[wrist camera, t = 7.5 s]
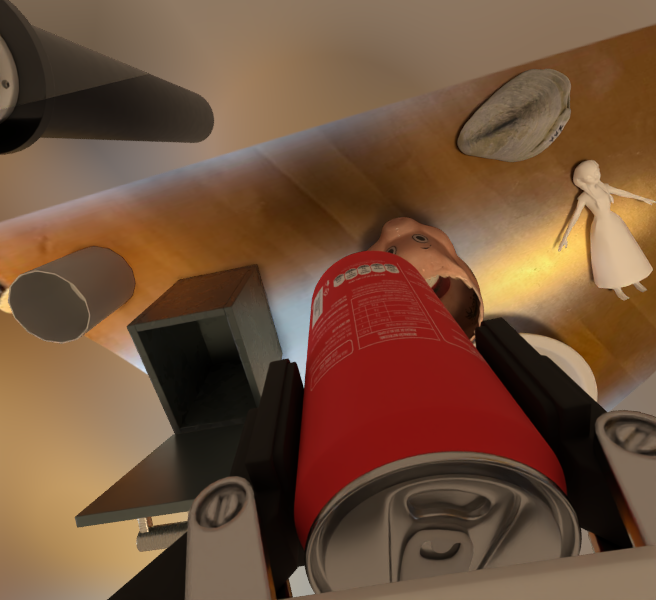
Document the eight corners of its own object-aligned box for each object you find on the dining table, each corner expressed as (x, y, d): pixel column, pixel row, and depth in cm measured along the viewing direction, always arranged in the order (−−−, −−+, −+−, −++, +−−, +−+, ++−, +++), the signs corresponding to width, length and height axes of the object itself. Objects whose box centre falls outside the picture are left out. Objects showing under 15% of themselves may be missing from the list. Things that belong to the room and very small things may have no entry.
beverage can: (432, 248, 17) (650, 455, 5) (413, 350, 19) (544, 654, 7) (316, 239, 16) (297, 435, 5) (308, 343, 18) (284, 644, 7)
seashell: (468, 185, 44) (485, 189, 40) (442, 117, 42) (456, 113, 37) (568, 132, 42) (598, 130, 38) (547, 57, 39) (576, 45, 35)
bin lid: (74, 516, 26) (87, 579, 26) (218, 495, 26) (231, 560, 26) (172, 434, 41) (181, 475, 41) (266, 419, 40) (275, 460, 40)
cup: (141, 306, 50) (98, 342, 41) (80, 308, 50) (25, 344, 41) (125, 244, 47) (76, 268, 38) (61, 247, 47) (-4, 271, 38)
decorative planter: (477, 319, 51) (528, 378, 38) (396, 356, 53) (418, 423, 40) (420, 185, 44) (457, 201, 32) (329, 234, 47) (330, 267, 34)
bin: (178, 279, 49) (126, 326, 36) (257, 264, 48) (231, 306, 35) (211, 367, 54) (175, 435, 41) (282, 354, 53) (268, 420, 40)
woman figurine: (595, 321, 46) (543, 189, 41) (574, 308, 50) (525, 187, 46) (694, 275, 44) (652, 130, 39) (663, 266, 48) (621, 134, 43)
